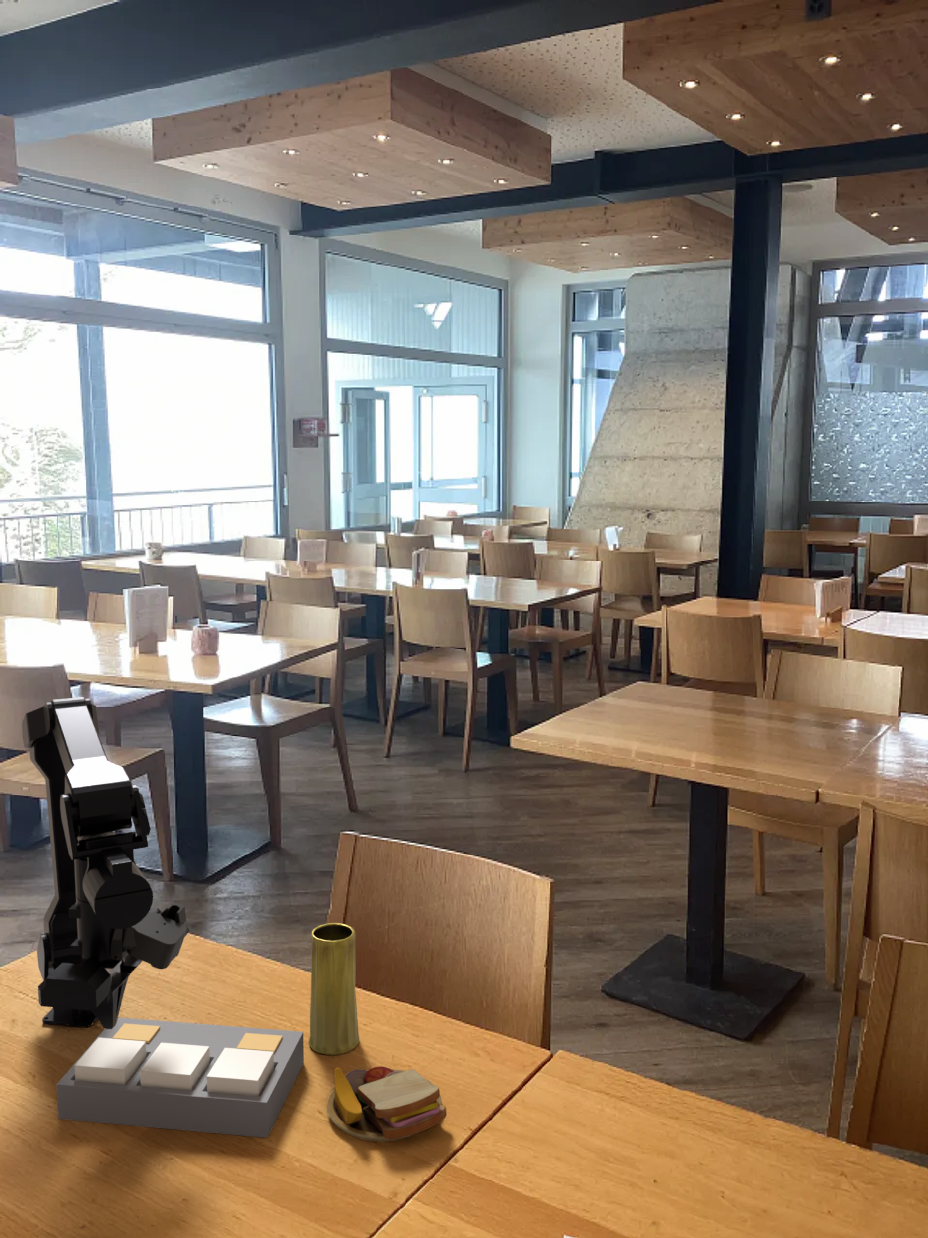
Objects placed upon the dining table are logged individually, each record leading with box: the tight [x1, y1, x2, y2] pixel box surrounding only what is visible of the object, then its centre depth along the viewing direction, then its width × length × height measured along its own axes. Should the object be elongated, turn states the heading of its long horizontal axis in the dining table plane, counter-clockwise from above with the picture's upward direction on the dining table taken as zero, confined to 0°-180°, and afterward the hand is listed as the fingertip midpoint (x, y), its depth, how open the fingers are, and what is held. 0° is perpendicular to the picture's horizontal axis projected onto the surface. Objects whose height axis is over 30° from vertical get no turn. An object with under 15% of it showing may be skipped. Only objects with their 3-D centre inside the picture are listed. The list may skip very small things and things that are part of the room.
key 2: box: [207, 1048, 274, 1096], centre depth 115 cm, size 6×6×2 cm
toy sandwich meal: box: [326, 1065, 447, 1143], centre depth 116 cm, size 12×14×5 cm
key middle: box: [140, 1043, 210, 1090], centre depth 116 cm, size 6×6×2 cm
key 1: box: [74, 1038, 146, 1085], centre depth 117 cm, size 6×6×2 cm
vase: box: [308, 922, 360, 1056], centre depth 129 cm, size 6×6×14 cm
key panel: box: [55, 1016, 305, 1139], centre depth 119 cm, size 23×14×4 cm, turn 83°
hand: (109, 1027), depth 117 cm, fingers closed
